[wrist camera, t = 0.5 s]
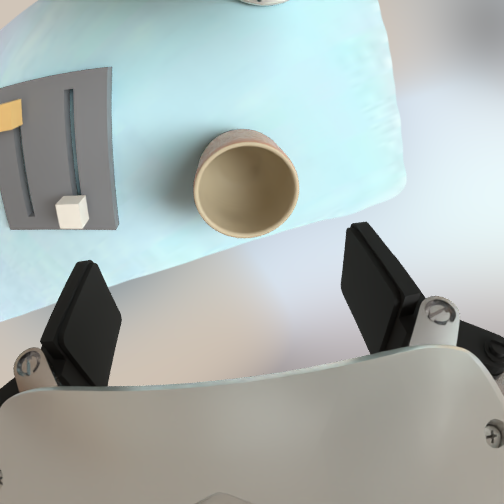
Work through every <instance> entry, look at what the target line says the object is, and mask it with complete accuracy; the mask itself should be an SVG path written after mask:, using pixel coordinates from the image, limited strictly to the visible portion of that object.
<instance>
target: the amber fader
mask: <svg viewBox="0 0 504 504" xmlns="http://www.w3.org/2000/svg"><path fill="white" fill-rule="evenodd" d="M22 124H23V122H22V106H21V99H18V100H14V101H10V102H6V103H2V104H0V132H2V131H7V130H12V129H14V128H16V127H18V126H20V125H22Z"/></svg>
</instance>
